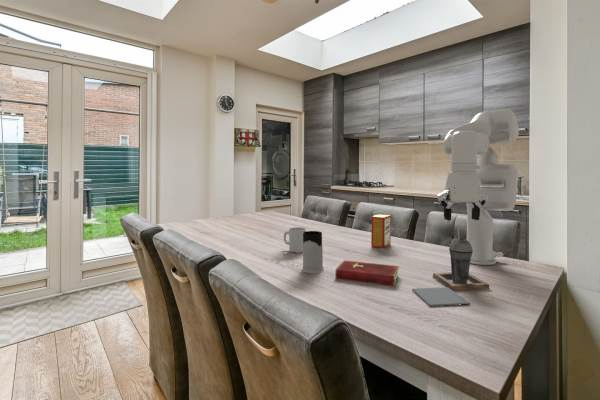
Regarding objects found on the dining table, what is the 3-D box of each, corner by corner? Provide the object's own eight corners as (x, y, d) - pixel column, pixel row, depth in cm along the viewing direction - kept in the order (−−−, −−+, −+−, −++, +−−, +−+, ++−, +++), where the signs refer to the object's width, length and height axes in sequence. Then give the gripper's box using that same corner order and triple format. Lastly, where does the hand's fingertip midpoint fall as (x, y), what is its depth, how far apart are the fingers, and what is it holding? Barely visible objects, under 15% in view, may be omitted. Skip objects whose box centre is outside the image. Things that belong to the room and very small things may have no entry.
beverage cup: (474, 287, 103) (477, 228, 101) (451, 286, 104) (453, 227, 102) (467, 279, 110) (469, 224, 108) (445, 278, 111) (447, 223, 109)
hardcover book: (394, 287, 105) (395, 275, 104) (335, 279, 113) (335, 268, 113) (398, 276, 116) (399, 265, 115) (344, 269, 124) (344, 259, 124)
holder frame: (466, 275, 114) (466, 271, 114) (489, 288, 101) (489, 284, 101) (433, 277, 113) (433, 273, 113) (452, 290, 100) (452, 286, 100)
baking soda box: (378, 243, 166) (378, 213, 164) (390, 244, 162) (390, 214, 160) (371, 246, 158) (371, 215, 157) (383, 248, 154) (384, 216, 153)
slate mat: (447, 289, 102) (447, 287, 102) (469, 304, 90) (470, 302, 90) (412, 290, 101) (412, 288, 101) (429, 306, 89) (429, 304, 89)
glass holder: (298, 272, 121) (298, 234, 119) (310, 261, 134) (309, 227, 133) (320, 274, 118) (319, 235, 116) (329, 263, 131) (329, 228, 130)
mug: (309, 249, 155) (308, 227, 154) (302, 253, 147) (301, 231, 146) (288, 247, 160) (287, 226, 159) (280, 251, 152) (279, 229, 151)
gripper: (481, 169, 107) (479, 218, 109) (432, 169, 106) (431, 218, 108) (496, 168, 100) (493, 221, 101) (444, 168, 99) (442, 221, 100)
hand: (461, 219), depth 104 cm, fingers open, 9 cm apart
